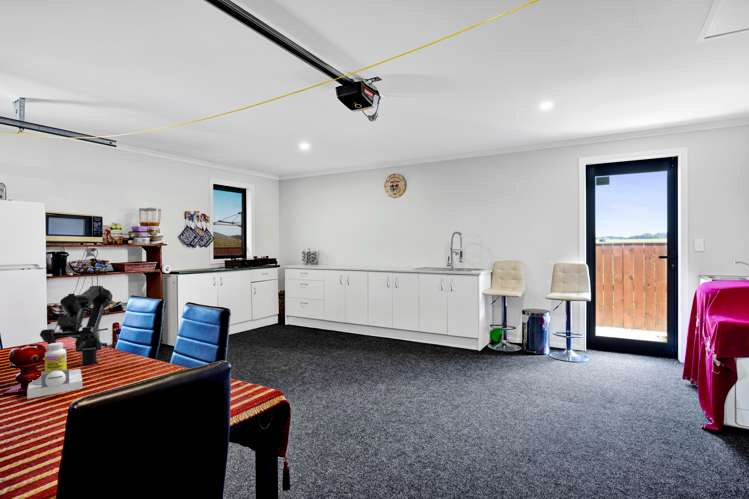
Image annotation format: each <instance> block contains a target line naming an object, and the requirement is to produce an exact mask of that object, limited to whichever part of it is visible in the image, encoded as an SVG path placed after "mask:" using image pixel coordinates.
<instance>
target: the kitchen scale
mask: <svg viewBox="0 0 749 499" xmlns="http://www.w3.org/2000/svg"><path fill="white" fill-rule="evenodd" d="M40 375H41V376H40V377H39V378H38V379H36V380H32V382H30V383H29V382H28V385H27V386H28V387H27V390H26V394H27V395H26V396H27V397H26V398H27V400H28V399H33V398H35V399H36V398H39V397H44V396H51V395H55V394H61V393H66V392H72V391H78V390H81V389H83V376H82V371H81V368H76V369H70V368H67V369H64V370H58V371H51V372H45V371H44V372H41V374H40Z"/></svg>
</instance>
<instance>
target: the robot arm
mask: <svg viewBox="0 0 749 499" xmlns="http://www.w3.org/2000/svg"><path fill="white" fill-rule="evenodd" d="M59 301H60V302H59V303H60V305H61V307H62V309H63V310H64V312H65V313H66V314H67V316H62V317H61V316H60V317H58V319H57V324H56V325H57V327H59V330H60V331H55V329H54V328H47V329H42V330H41V331H40V333H39V337H41V339H42V340H43V341H44V342H45V343H46V344H47V345H48V344H52V343H57V340H58V338H62V337H64V338H65V337H68V338H69V337H76V338H77V339H76V338H75V339H76V340H75V342H74V343H75V344H74V345H75V346H74V347H75V352H76V353H81V362H80V366H81V367H84V366H91V365H99V360H98V351H101V350H102V347H103V346H102V345H103V344H102V342H101V340H100V338H99V335H98V333H97V332H98V329H99V327H100V323H101V320H102V317H103V313H104V310H105V309H106V308H107V307H109V306H110V304H111V302H112V301H113V294H112V292H111V290H109V289H106V288H104V286H102V285H91V286H89V288H88V289H86V290H85V291H84V292H82V294H76V295H75V293H68V295H65V296H64V297H63V298H61V300H59ZM91 306H92V309H91V312H90V315H89V318H88V320H87V323H86V326H84V327H83V324H82V322H83V320H84V318H85V317H86V310H85V309H89V308H91ZM80 329H81V330H80ZM47 349H48V348H47ZM47 351H49V349H48V350H47Z"/></svg>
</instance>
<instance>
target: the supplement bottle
mask: <svg viewBox="0 0 749 499" xmlns="http://www.w3.org/2000/svg"><path fill="white" fill-rule="evenodd" d="M63 347H64V342H59V341H58V342H56V343H52V344H48V343H47V349H49V351H48V350H47V351H45V353H44V373H45V372H51V371H58V370H64V369H68V367H67V364H68V363H67V350H66V349H65V348H63Z"/></svg>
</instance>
